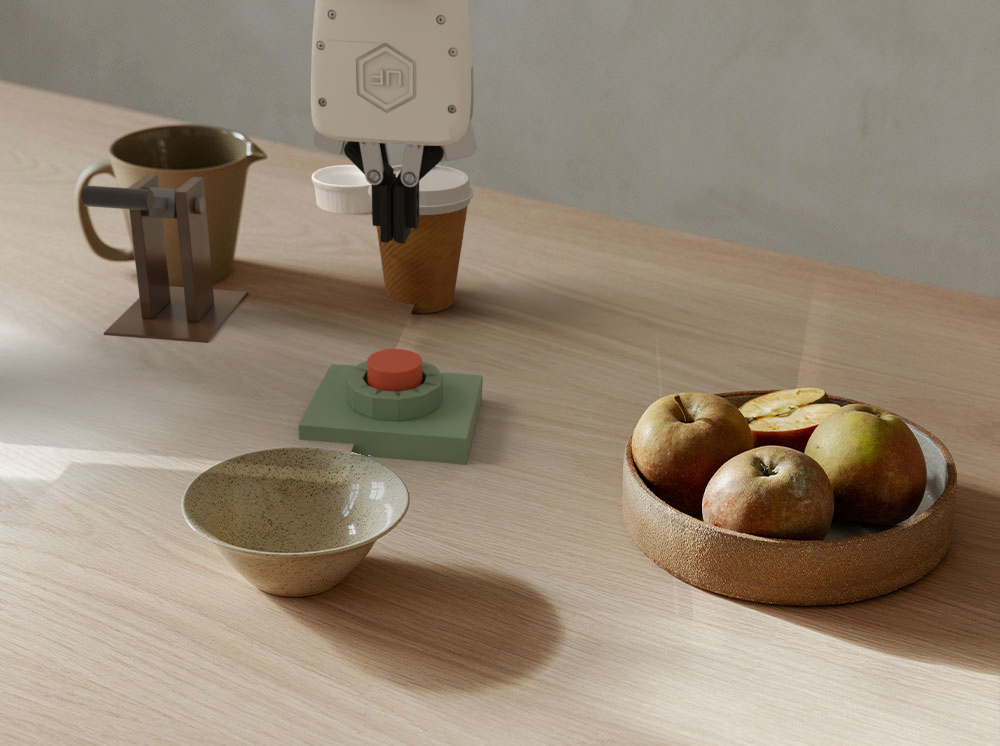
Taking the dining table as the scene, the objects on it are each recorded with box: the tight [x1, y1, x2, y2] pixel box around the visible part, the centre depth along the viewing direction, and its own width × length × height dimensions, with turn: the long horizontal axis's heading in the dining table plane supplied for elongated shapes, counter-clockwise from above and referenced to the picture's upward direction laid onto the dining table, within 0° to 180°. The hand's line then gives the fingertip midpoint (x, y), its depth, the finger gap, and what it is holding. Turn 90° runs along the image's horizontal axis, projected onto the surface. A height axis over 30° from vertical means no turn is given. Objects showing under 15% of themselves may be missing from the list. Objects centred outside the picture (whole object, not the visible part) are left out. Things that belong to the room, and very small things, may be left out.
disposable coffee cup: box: [368, 164, 474, 314], centre depth 102 cm, size 10×10×12 cm
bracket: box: [103, 173, 248, 344], centre depth 95 cm, size 11×9×13 cm
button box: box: [297, 360, 484, 465], centre depth 82 cm, size 12×10×4 cm
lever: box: [80, 184, 178, 220], centre depth 88 cm, size 12×5×2 cm, turn 174°
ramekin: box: [311, 164, 372, 215], centre depth 126 cm, size 9×9×4 cm
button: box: [366, 348, 423, 392], centre depth 81 cm, size 4×4×2 cm
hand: (396, 236), depth 76 cm, fingers closed
